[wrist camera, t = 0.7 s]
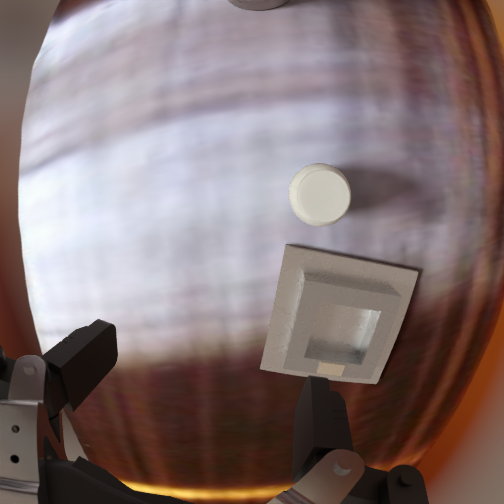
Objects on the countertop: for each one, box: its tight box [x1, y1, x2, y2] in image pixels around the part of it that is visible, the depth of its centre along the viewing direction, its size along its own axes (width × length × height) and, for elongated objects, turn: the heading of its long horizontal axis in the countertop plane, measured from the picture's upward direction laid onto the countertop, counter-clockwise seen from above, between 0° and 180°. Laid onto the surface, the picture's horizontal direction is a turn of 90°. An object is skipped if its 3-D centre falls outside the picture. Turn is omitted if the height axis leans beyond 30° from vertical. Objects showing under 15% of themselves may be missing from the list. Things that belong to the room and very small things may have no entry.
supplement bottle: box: [289, 163, 351, 226], centre depth 25 cm, size 5×5×10 cm
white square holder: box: [260, 245, 418, 384], centre depth 30 cm, size 16×16×4 cm
